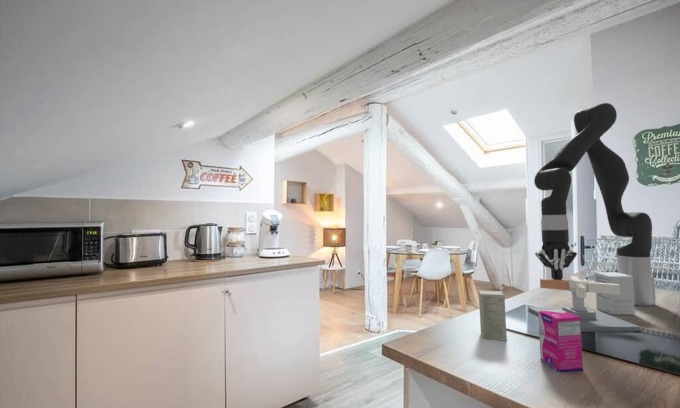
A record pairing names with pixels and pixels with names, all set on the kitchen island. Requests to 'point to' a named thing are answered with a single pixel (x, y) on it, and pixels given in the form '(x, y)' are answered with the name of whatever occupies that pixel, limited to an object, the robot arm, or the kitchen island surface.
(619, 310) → the supplement box
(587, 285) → the star cap
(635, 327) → the post board
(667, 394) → the kitchen island surface
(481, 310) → the skincare box
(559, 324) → the supplement box
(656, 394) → the kitchen island surface
